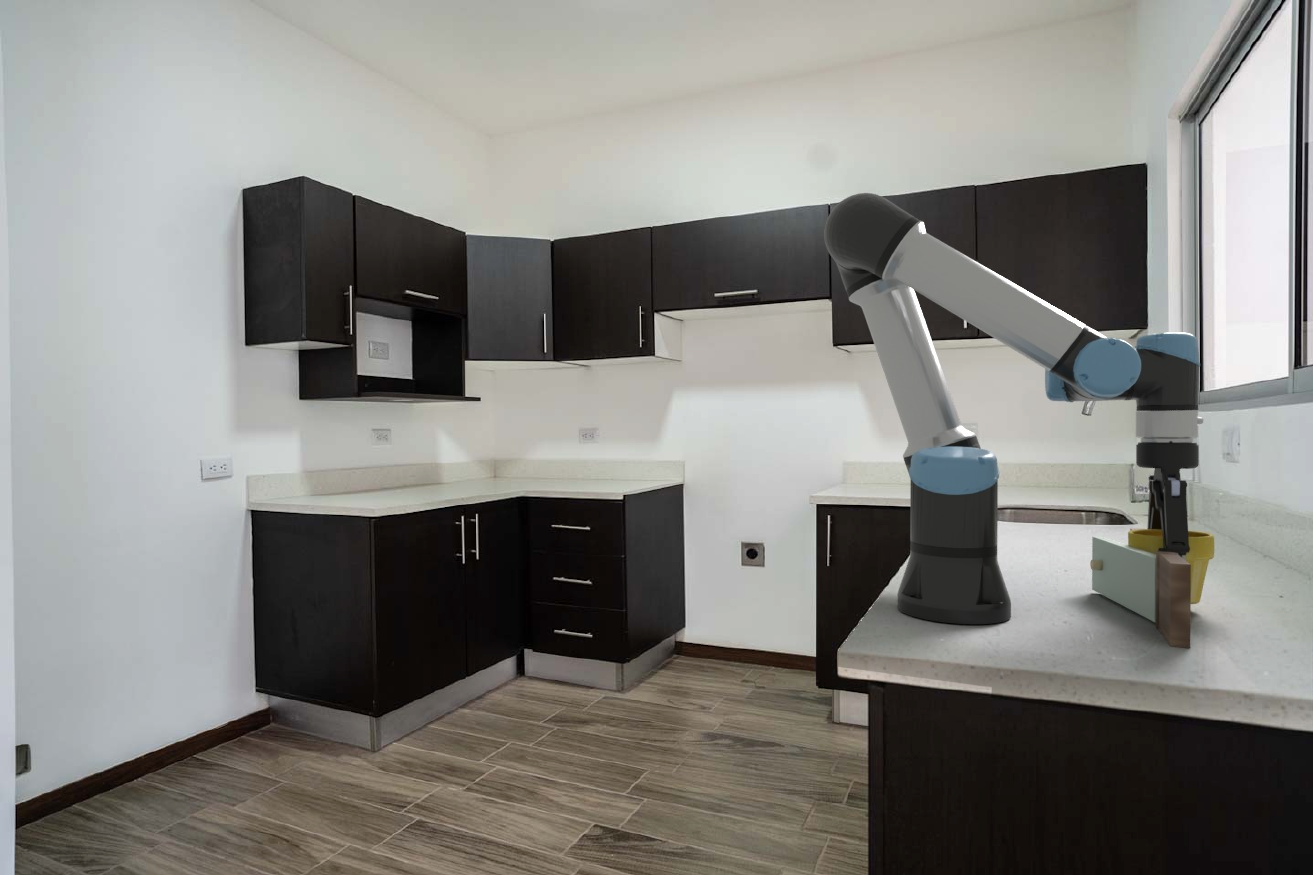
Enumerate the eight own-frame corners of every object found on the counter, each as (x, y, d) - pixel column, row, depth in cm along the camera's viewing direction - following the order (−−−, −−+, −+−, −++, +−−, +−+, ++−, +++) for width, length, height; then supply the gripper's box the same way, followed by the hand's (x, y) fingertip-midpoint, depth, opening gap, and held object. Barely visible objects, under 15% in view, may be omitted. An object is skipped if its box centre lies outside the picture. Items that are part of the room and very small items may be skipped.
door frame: (1168, 645, 91) (1168, 563, 91) (1128, 588, 124) (1128, 528, 124) (1192, 648, 90) (1192, 564, 90) (1145, 590, 123) (1146, 528, 123)
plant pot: (1128, 589, 117) (1127, 526, 117) (1211, 596, 112) (1210, 529, 111) (1129, 603, 108) (1128, 535, 108) (1219, 611, 103) (1218, 539, 103)
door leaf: (1144, 621, 101) (1145, 558, 101) (1084, 589, 121) (1084, 536, 121) (1167, 622, 100) (1168, 558, 100) (1102, 589, 121) (1103, 536, 121)
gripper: (1217, 442, 98) (1216, 613, 98) (1182, 439, 118) (1182, 580, 119) (1148, 442, 101) (1148, 607, 101) (1126, 439, 122) (1126, 576, 122)
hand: (1166, 593), depth 110 cm, fingers closed on plant pot, 10 cm apart
